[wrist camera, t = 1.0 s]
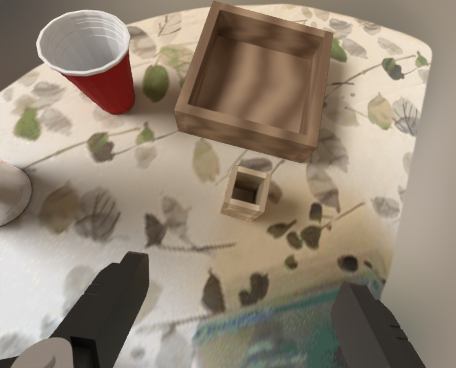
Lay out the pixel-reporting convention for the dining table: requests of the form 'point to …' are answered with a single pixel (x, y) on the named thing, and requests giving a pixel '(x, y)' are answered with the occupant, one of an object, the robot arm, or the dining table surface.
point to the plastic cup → (91, 56)
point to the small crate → (246, 193)
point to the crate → (256, 83)
